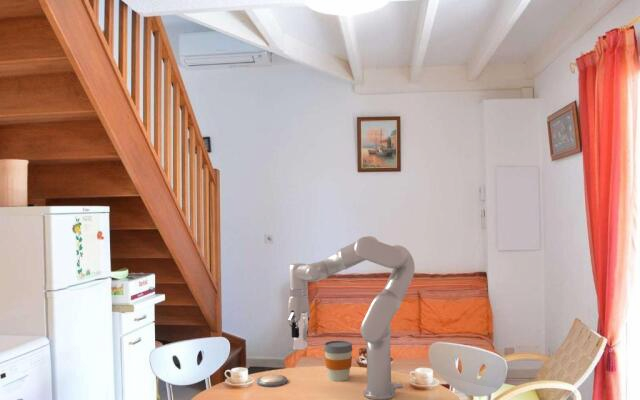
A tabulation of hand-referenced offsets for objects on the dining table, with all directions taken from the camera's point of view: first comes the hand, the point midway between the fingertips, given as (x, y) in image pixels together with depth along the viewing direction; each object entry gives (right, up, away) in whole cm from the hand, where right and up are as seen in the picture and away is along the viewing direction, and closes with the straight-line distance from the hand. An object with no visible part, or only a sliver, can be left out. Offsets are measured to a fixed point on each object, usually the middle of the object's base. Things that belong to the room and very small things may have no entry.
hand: (300, 335), depth 208 cm
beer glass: (0, -5, 0) cm, 5 cm away
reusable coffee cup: (+17, -22, +10) cm, 29 cm away
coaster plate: (-12, -22, +6) cm, 26 cm away
